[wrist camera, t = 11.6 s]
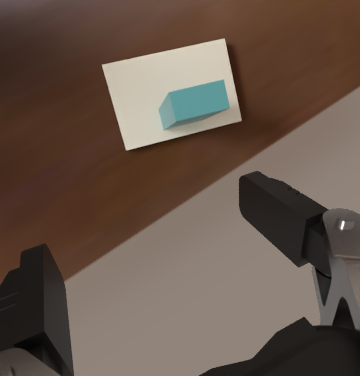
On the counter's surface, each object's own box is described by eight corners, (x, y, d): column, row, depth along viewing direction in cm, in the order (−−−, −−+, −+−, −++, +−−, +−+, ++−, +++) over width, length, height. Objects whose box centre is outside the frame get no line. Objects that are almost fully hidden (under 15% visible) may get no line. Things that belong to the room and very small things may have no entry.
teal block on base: (126, 150, 28) (123, 150, 19) (103, 68, 26) (87, 26, 18) (237, 122, 29) (283, 108, 20) (220, 43, 28) (262, -8, 19)
